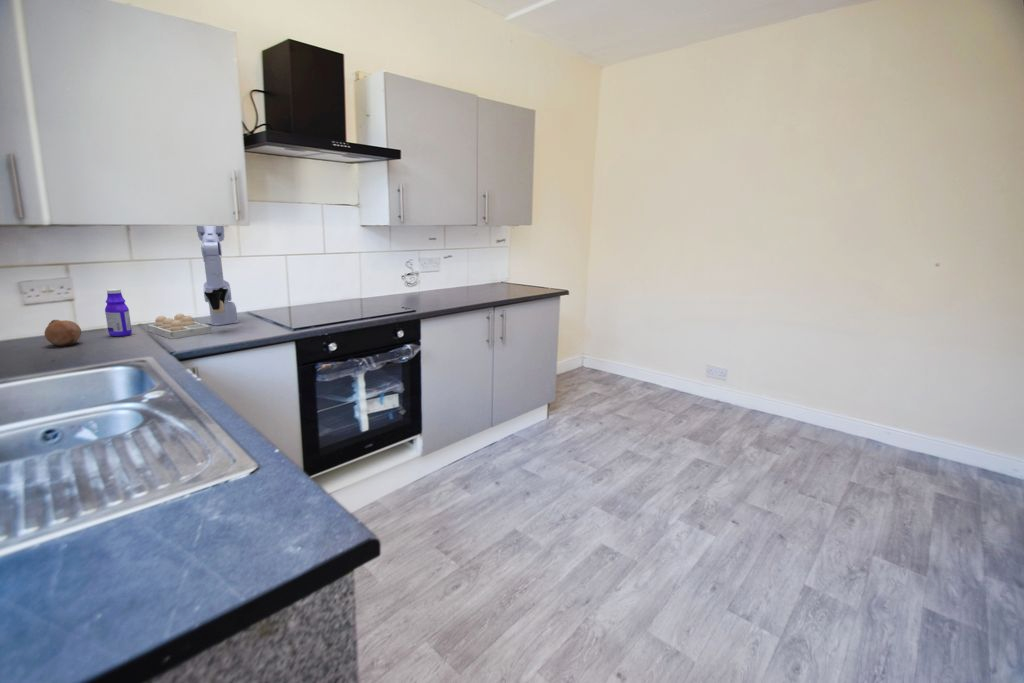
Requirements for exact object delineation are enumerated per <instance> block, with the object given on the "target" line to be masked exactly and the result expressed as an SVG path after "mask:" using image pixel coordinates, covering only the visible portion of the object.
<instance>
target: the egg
mask: <svg viewBox="0 0 1024 683" xmlns="http://www.w3.org/2000/svg"><path fill="white" fill-rule="evenodd" d="M212 309H213V308H212ZM223 312H225V310H224V303H223V301H221V300H220V308H219V310H213V313H223Z"/></svg>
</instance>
